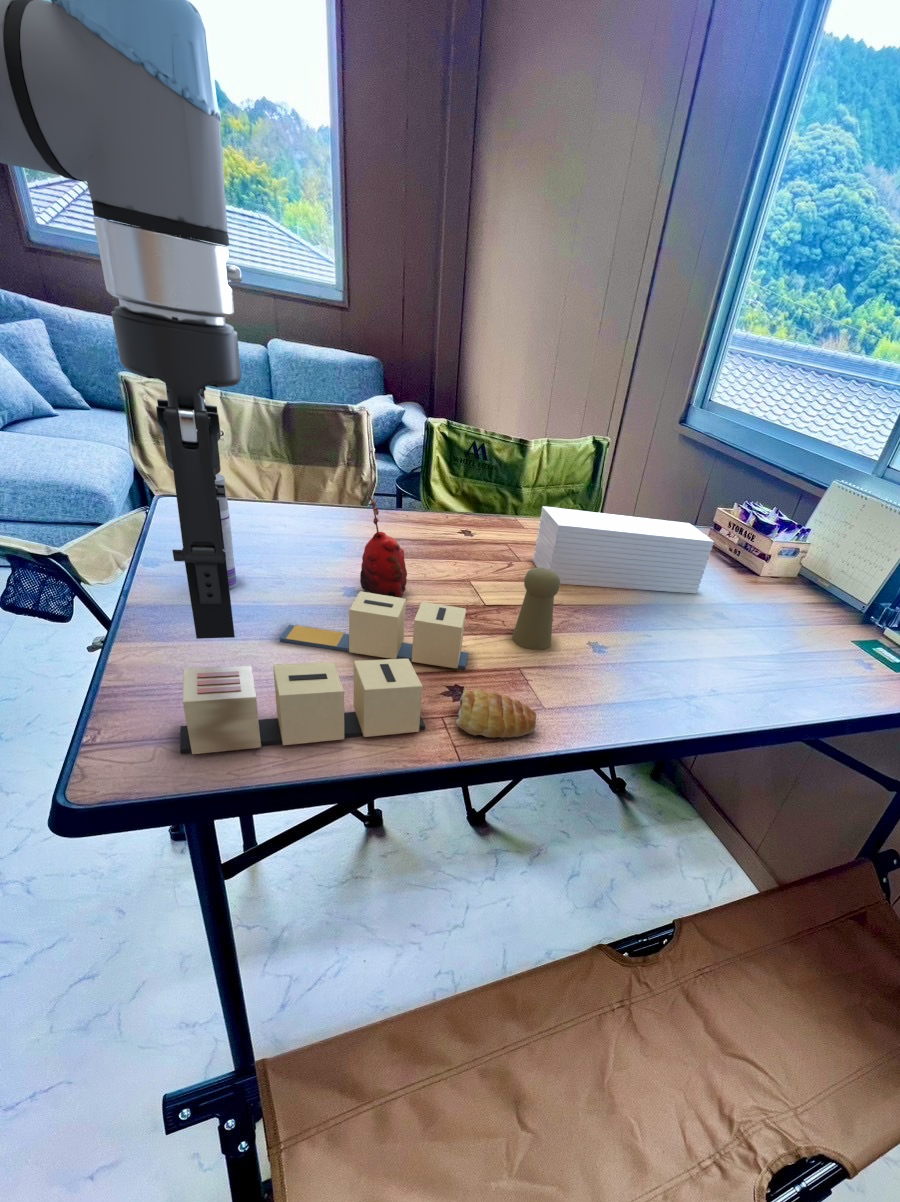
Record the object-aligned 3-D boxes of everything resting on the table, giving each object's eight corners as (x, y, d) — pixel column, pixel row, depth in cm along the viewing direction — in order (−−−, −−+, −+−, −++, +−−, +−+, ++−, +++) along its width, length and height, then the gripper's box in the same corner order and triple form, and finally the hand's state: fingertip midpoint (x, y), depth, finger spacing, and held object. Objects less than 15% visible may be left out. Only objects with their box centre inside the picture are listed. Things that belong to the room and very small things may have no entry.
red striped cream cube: (192, 754, 59) (182, 701, 56) (191, 719, 63) (182, 667, 60) (261, 747, 62) (256, 696, 58) (256, 714, 66) (251, 664, 63)
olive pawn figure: (558, 642, 95) (573, 573, 89) (537, 653, 91) (551, 582, 85) (526, 627, 97) (538, 559, 91) (504, 638, 93) (515, 567, 87)
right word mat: (276, 644, 79) (273, 596, 75) (291, 624, 84) (289, 578, 80) (464, 673, 82) (470, 628, 79) (468, 652, 87) (473, 609, 83)
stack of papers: (674, 573, 133) (689, 523, 127) (696, 593, 125) (714, 541, 119) (532, 561, 123) (542, 506, 117) (547, 583, 115) (558, 524, 109)
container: (192, 585, 88) (176, 475, 79) (213, 574, 92) (199, 468, 83) (224, 593, 88) (211, 483, 79) (243, 582, 92) (232, 476, 83)
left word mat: (180, 759, 59) (169, 701, 55) (181, 724, 63) (170, 668, 59) (427, 734, 70) (432, 684, 66) (413, 705, 74) (417, 656, 70)
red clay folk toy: (413, 599, 98) (419, 502, 89) (370, 602, 94) (372, 502, 86) (394, 580, 103) (398, 486, 94) (352, 582, 99) (352, 485, 90)
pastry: (532, 713, 77) (537, 687, 75) (536, 746, 72) (542, 719, 70) (456, 705, 76) (460, 678, 73) (454, 738, 70) (458, 710, 68)
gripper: (248, 348, 36) (273, 669, 47) (228, 306, 53) (250, 548, 65) (88, 322, 32) (158, 674, 44) (122, 286, 50) (166, 546, 62)
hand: (213, 600), depth 55 cm, fingers open, 13 cm apart
